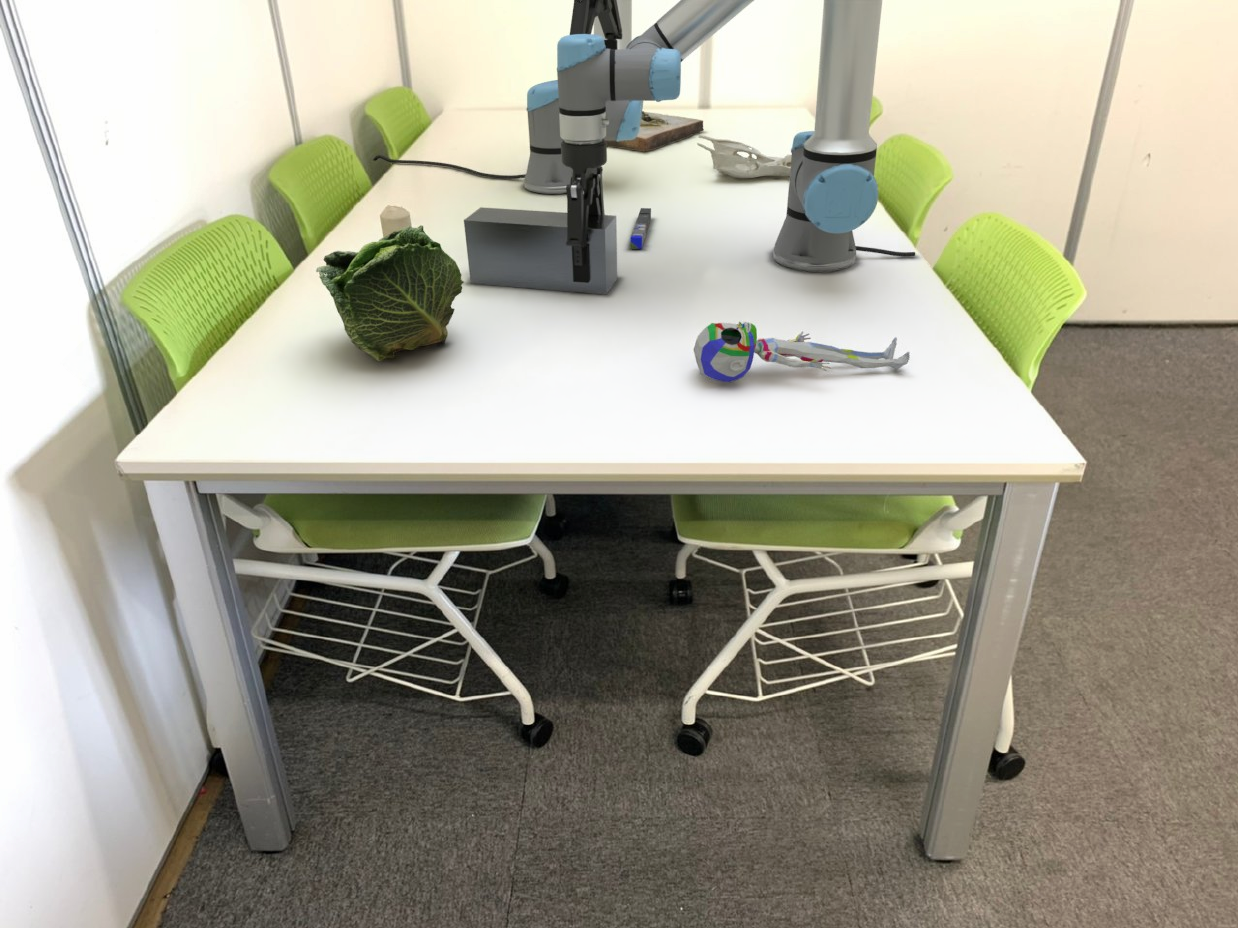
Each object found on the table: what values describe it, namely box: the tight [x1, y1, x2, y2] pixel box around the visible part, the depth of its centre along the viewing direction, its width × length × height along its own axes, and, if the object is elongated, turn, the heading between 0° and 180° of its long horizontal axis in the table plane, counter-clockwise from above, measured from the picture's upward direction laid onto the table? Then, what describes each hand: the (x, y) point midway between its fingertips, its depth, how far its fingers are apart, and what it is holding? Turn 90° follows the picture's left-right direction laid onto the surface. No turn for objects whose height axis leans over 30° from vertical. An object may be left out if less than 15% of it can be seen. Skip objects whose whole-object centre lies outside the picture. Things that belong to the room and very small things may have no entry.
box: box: [463, 206, 618, 296], centre depth 159 cm, size 25×8×12 cm, turn 76°
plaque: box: [606, 110, 705, 152], centre depth 257 cm, size 30×7×30 cm
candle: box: [379, 205, 412, 238], centre depth 170 cm, size 6×6×10 cm
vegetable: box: [315, 224, 465, 362], centre depth 134 cm, size 20×19×20 cm
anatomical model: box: [696, 134, 792, 179], centre depth 218 cm, size 15×9×25 cm
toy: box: [692, 321, 911, 383], centre depth 128 cm, size 10×8×30 cm
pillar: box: [630, 207, 652, 250], centre depth 183 cm, size 2×2×20 cm
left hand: (597, 83), depth 169 cm, fingers open, 13 cm apart
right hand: (588, 272), depth 159 cm, fingers closed on box, 8 cm apart
